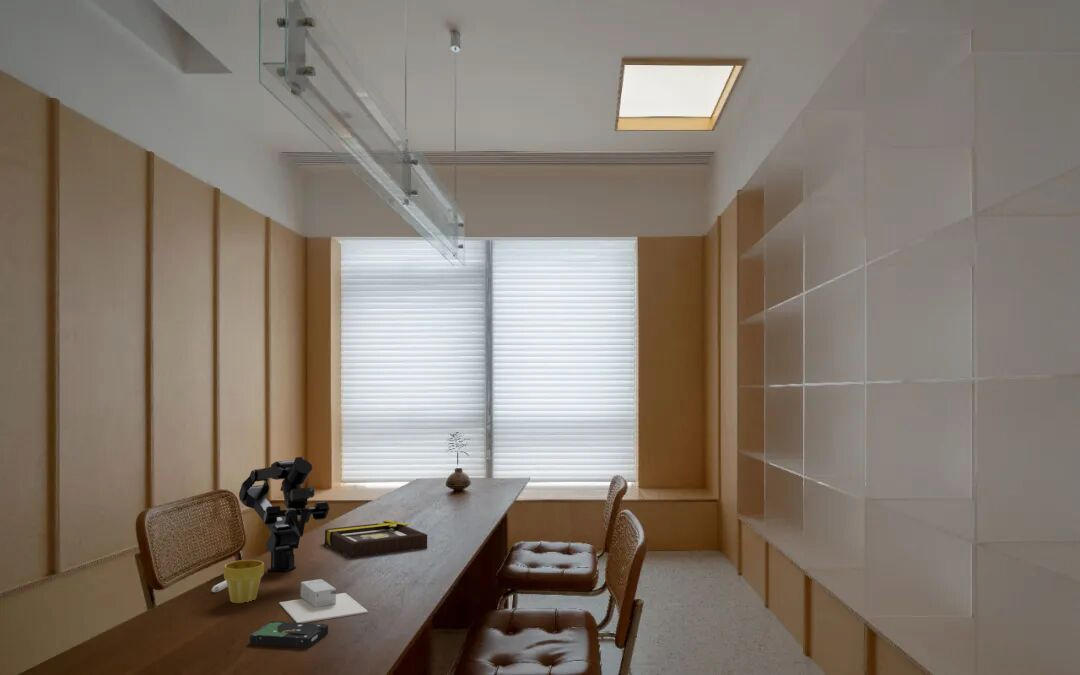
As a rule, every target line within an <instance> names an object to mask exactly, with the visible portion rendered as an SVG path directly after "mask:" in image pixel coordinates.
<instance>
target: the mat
mask: <svg viewBox="0 0 1080 675" xmlns="http://www.w3.org/2000/svg"><path fill="white" fill-rule="evenodd" d="M279 605H280V607H281V608H283V610H284V611H285V612H286V613H287V614H288V615H289V616H290V617H291V619H292V620H293V621H294V623H311V622H319V621H324V620H331V619H336V618H342V617H343V618H344V617H349V616H356V615H362V614H368V613H369V611H368V610H367V609H366V608H365V607H363V606H362V604H360V603H359V602H357V601H356V600H355V599H354V598H353V597H351V596H350V595H349V594H347V592H342V593H336V604H331V605H326V606H320V607H313V606H312V605H311V604H309V603H308V602H307V601H306V600H304V599H303V598H300V599H293V600H286V601H280V602H279Z"/></svg>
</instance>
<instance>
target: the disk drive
mask: <svg viewBox="0 0 1080 675" xmlns="http://www.w3.org/2000/svg"><path fill="white" fill-rule="evenodd" d="M327 635H329V624H324V623H311V622H306V623H296V622H295V621H294V622H293V621H278V620H277V621H275V620H274V621H273V620H272V621H270V622H268V623H267V624H265V625H263V626H261V627H260V629H259V628H258V630H256V631H255V632H253V633H252V632H251V633H250V635H249V638H248V639H249V645H258V646H259V645H260V646H277V647H287V648H288V647H289V648H302V649H303V648H306V649H309V648H311V647H312V646H313V645H315V644H316V643H317V642H319V641H320V640H322V639H323V638H324V637H326V636H327Z"/></svg>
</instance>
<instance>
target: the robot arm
mask: <svg viewBox="0 0 1080 675" xmlns="http://www.w3.org/2000/svg"><path fill="white" fill-rule="evenodd" d="M312 471H313V466H312V463H310V462H309V461H308V460H306V459H303V456H297V457H295V458H294V460H293V459H291V460H281V461H280V460H279V461H274V462H273V463H271V464H270V466H268V467H263V468H258V469H253V470H251V471H250V474H249V476H248V477H247V478H246V479H245V480H244V481H243V482H242V483H241V486H240V489H239V492H238V493H239V494H238V498H239V499H238V500H240V502H241V503H242V504H243V506H245V507H247V508H249V509H253V510H254V511H255V513H256V514H257V515H258V517H260V518H261V520H262V522H263V524H264V525H265V526H266V527H267V528H268V529H269V531H270V535H269V538H268V539H267V541H266V543H265V547H266V548H265V549H266V551H267V552H270V567H268V568H267V571H271V572H282V573H283V572H288V571H290V570H293V569H295V568H297V565H295V554H294V549H296V550H297V549H299V545H300V541H301V540H300V539H301V537H304V531H305V525H306V524H308V523H309V521H310V517H311V515H312V519H314V520H315V521H317V520H318V521H319V520H325V519H326V518H327V517H328V515H329V512H330V504H329V502H328V501H320V502H315V503H314V504H313V505H314V506H310V507H307V506H308V500H309V499H310V498H313V497H315V488H314V486H313V485H312V486H311V485H309V486H307V487H302V485H304V483H305V482H306V481H307V479H308V477H309V475H310V474H311V472H312ZM271 479H272V480H276V481H277V480H282V481H281V486H280V491H281V492H282V494H283V499H284V506H285V509H283V510H281V506H280V505H272V504H271V503H270V501H269V499H267V498H268V495H269V491H270V486H269V483H268V480H271ZM256 482H263V485H262V484H260V485H254V484H255V483H256ZM283 518H284V519H283ZM298 518H299V519H298Z"/></svg>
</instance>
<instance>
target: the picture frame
mask: <svg viewBox="0 0 1080 675" xmlns="http://www.w3.org/2000/svg"><path fill="white" fill-rule="evenodd" d="M325 543H326V544H325ZM324 544H325V545H327V544H328V545H327V546H329V547H330V546H331V547H330V548H332V547H333V548H332V549H334V548H335V550H336V549H337V550H336V551H338V550H339V551H338V552H340V551H341V552H340V553H342V554H343V553H344V554H343V555H345V554H346V555H345V556H347V557H349V558H352V559H354V558H355V557H356V558H362V557H363V558H364V557H369V556H370V555H371V556H375V555H376V556H377V555H385V554H391V553H397V552H398V553H399V552H407V551H414V550H421V549H422V550H423V549H428V534H426V533H424V532H422V531H419V530H417V529H414V528H412V527H410V523H405V522H403V523H402V522H398V521H392V520H390V519H386V520H382V522H378V523H370V524H359V525H352V526H350V525H349V526H343V527H332V528H327V529H325V530H324ZM371 556H370V557H371Z"/></svg>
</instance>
